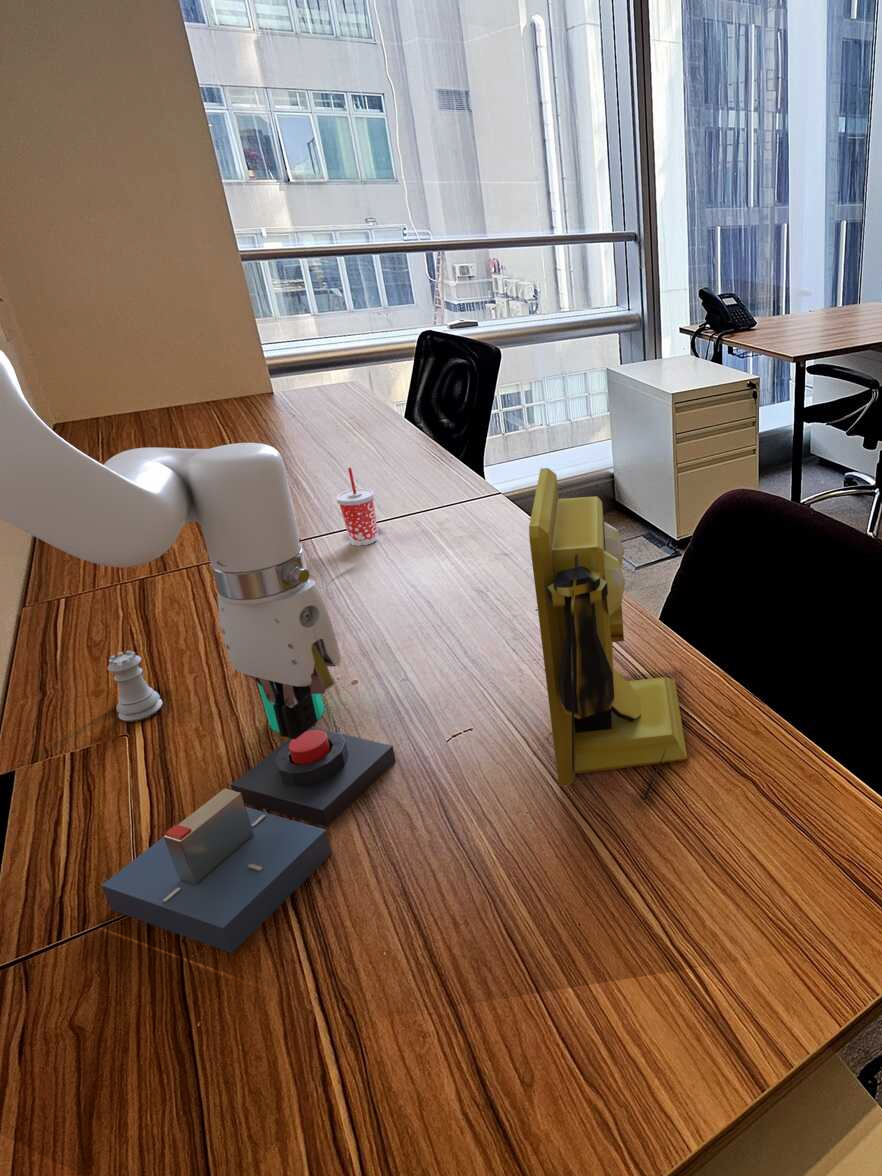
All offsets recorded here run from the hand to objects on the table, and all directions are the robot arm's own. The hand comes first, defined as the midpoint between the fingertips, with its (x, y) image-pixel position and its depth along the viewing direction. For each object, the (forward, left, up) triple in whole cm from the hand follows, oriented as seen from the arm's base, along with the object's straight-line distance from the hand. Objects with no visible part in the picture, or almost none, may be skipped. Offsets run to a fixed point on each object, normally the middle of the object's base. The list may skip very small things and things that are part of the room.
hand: (299, 729), depth 81 cm
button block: (0, 0, -7) cm, 7 cm away
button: (0, 0, -3) cm, 3 cm away
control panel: (+2, -13, -7) cm, 15 cm away
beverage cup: (-39, +52, -7) cm, 66 cm away
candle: (-11, +8, -7) cm, 15 cm away
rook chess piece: (-30, +3, -7) cm, 31 cm away
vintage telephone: (+28, +17, -7) cm, 34 cm away
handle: (+2, -13, -4) cm, 13 cm away
